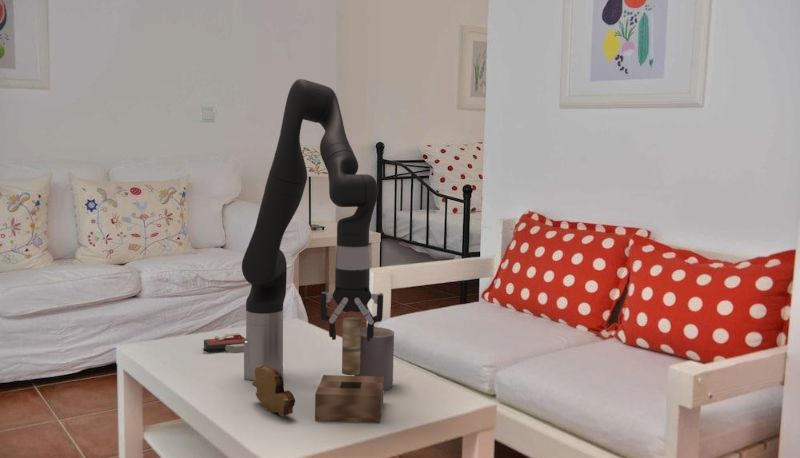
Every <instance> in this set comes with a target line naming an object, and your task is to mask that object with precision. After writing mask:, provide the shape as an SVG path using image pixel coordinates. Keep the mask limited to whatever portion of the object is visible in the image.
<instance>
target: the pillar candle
mask: <svg viewBox="0 0 800 458" xmlns="http://www.w3.org/2000/svg"><path fill="white" fill-rule="evenodd" d="M394 347H395V331H394V330H392V329H389V328H387V327H381V326H379V327H378V326H375V325H374V336H373V338H371V339H370V341H367V326H366V327H361V344H360V374H357V375H353V376H375V377H384V392H385V390H386V391H388V390H389V389H391V388H392V387H394V386H393V384H394V383H393V382H394V351H395V349H394Z"/></svg>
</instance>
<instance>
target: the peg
mask: <svg viewBox="0 0 800 458" xmlns="http://www.w3.org/2000/svg"><path fill="white" fill-rule="evenodd" d="M361 328H362V319H361V318H359V317H344V318H342V337H341V338H342V343H341V345H342V347H341V350H342V351H341V353H342V355H341V373H342V374H343V375H344V376H354V375H357V374H360V344H361Z"/></svg>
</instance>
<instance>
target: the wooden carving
mask: <svg viewBox="0 0 800 458" xmlns="http://www.w3.org/2000/svg"><path fill="white" fill-rule="evenodd" d="M283 376H284V375H283ZM283 376H282V375H281V373H280V372H278V371H277V370H276V369H274V368H273V367H271V366H266V367H265V366H262V367H257V368H256V369H255V377H256V380H255V381H253V380H252V381H251V382H252V383H251V384H252V386H253V388H254V387H255V388H256V392H255V396H256V398H257V399H258V401H259V403H260V404H261V405H262V407H263V408H264V409H265V410H266V411H268V412H270V413H272V414H274V413H278V415H280V416H281V417H286V416H289V415H291V414H293V412H294V410H293V409H294V406H295V405H296V398H295V396H294V394H293V392H291V390H288V389H287V390H285V387H284V386H285V382H284V377H283Z"/></svg>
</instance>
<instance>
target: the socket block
mask: <svg viewBox="0 0 800 458" xmlns="http://www.w3.org/2000/svg"><path fill="white" fill-rule="evenodd" d="M384 392H385V391H384V377H375V376H354V375H339V374H338V375H337V374H336V375H333V374H330V375H329V374H323V376H322V377H321V380H320V382H319V384H318V387H317V389H316V391H315V397H314V409H315V410H314V421H315V422H332V423H333V422H335V423H336V422H337V423H366V424H367V423H368V424H381V419H382V414H383V407H384Z"/></svg>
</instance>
